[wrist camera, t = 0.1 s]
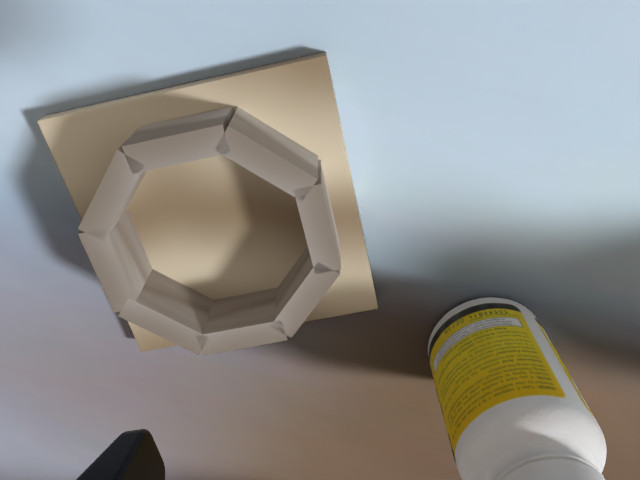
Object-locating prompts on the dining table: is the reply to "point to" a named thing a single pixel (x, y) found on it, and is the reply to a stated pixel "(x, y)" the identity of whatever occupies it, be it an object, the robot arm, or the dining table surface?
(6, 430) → the dining table surface
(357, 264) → the octagonal ring stand
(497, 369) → the supplement bottle
